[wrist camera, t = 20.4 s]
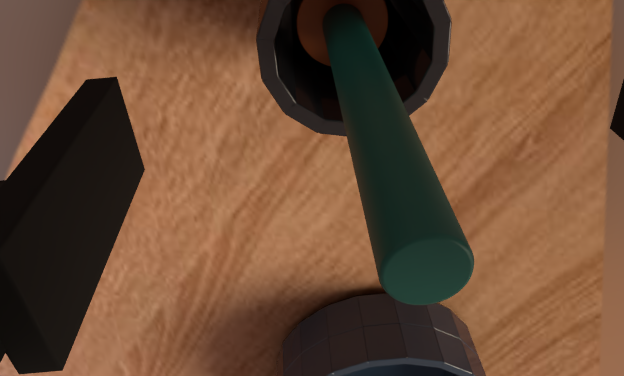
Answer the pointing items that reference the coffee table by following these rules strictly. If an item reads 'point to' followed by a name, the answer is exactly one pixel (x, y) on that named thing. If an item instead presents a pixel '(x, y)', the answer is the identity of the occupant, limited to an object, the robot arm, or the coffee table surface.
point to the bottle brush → (387, 156)
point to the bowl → (380, 341)
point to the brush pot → (319, 78)
